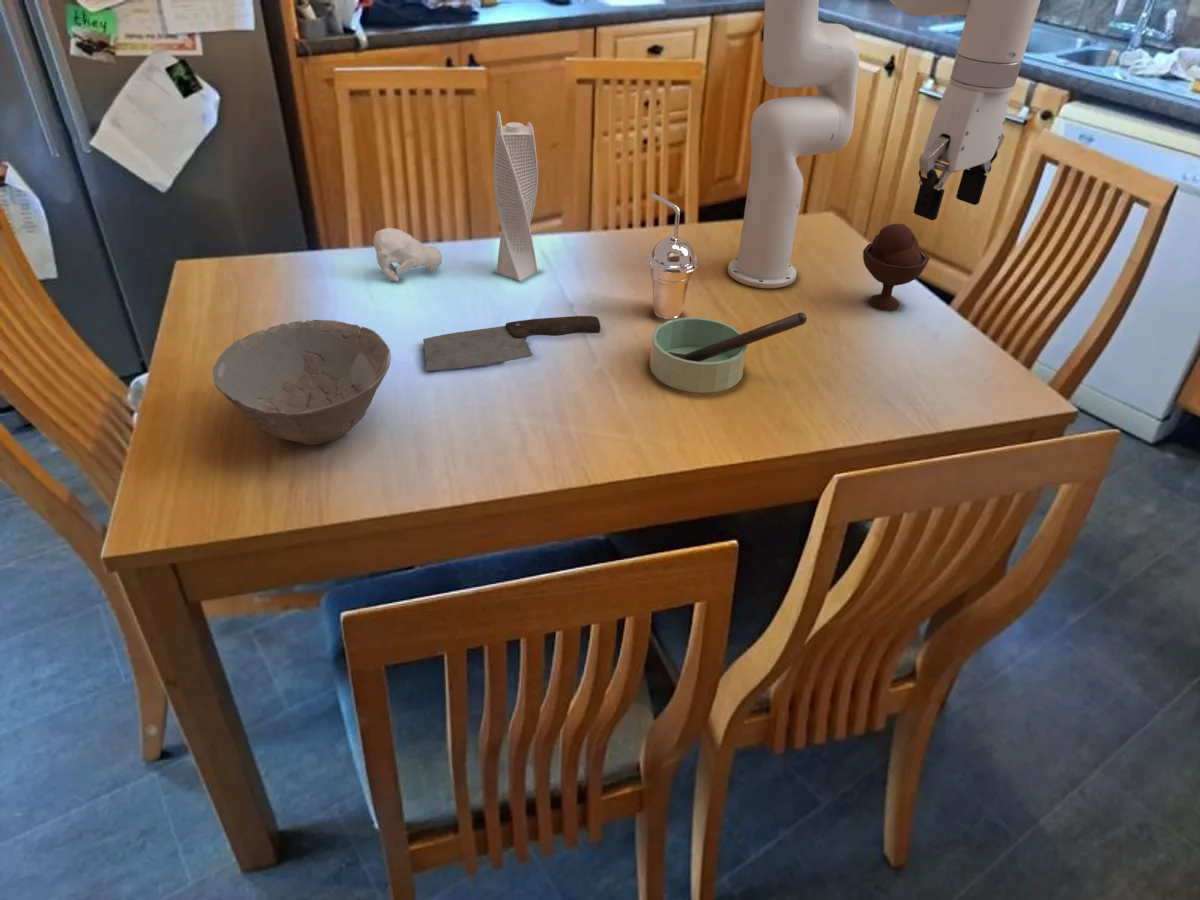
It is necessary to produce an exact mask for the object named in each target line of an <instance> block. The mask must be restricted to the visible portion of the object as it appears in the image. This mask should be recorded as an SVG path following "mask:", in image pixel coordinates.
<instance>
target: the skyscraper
mask: <svg viewBox="0 0 1200 900" xmlns="http://www.w3.org/2000/svg"><path fill="white" fill-rule="evenodd" d="M535 139H536V138H535V131H534V127H533V124H532V123H531V121H528V122H527V125H524V124H523V123H522V122H517V121H516V122H515V121H512V122H507V123H506V124H505V125H503V123H502V116H501V112H500V111H499V110H497V111H496V131H495V141H494V152H493V153H494V155H493V190H494V199H495V206H496V211H497V217H498V220H499V225H500V230H501V231H500V236H499V245H498V254H497V264H496V271H495V272H496V274H500V275H502V276H505V277H508V278H511V279H514V280H516V281H518V282H521V281H522V280H525V279H526V278H528V277H530V276H532V275H533V274H535V273H538V272H539V271H538V263H537V258H536V252H535V247H534V242H533V241H534V240H533V235H532V231H531V223H532V219H533V216H534V212H535V207H536V201H537V196H538V190H539V189H538V187H539V164H538V154H537V146H536V140H535Z"/></svg>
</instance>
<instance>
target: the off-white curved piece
mask: <svg viewBox="0 0 1200 900" xmlns="http://www.w3.org/2000/svg"><path fill="white" fill-rule="evenodd" d="M372 245H373V247H374V251H375V255H376V257H375V258H376V260H377V265H378V266H379V268H380V269H381V271H382V272H383V273H384V274H385V276H386V277H387V278H388V279H389V280H392V282H395V283H396V282H398V281H399V276H398V275H401V274H404V273H406V272H408V271H410V270H411V269H416V268H419V267H425V268H426V270H427V272H429V274H430V275H431V274H432V273H433V272H436V270H437V269H438V267H439V266H440V265H441V264H442V263H443V262H442V261H443V254H442V252H441V250H440V249H439V248H437V247H435V246H431V245H425V243H421V242H420V241H419V240H418V239H417V238H414V237H413V236H412V235H411V234H409V233H406V232H405V231H404V230H401V229H400V228H393V227H390V228H389V227H385V228H382V229H380V230H377V231H376V232H375V234H374V236H373V242H372ZM396 263H397V265H399V266H397V267H395V266H394V264H396Z"/></svg>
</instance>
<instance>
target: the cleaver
mask: <svg viewBox="0 0 1200 900" xmlns="http://www.w3.org/2000/svg"><path fill="white" fill-rule="evenodd" d="M600 332H601V322H600V319H599V318H598V317H597V316H594V315H574V316H573V315H572V316H571V315H570V316H555V317H543V318H542V317H541V318H532V319H523V320H516V321H509V322H506V323H505V325H502V326H495V327H494V326H493V327H485V328H479V329H471V330H465V331H458V332H452V333H446V334H445V333H444V334H440V335H434V336H430V337H426V338H423V339H422V341H423V350H424V357H425V367H426V371H427V372H428V371H430V372H432V371H444V370H454V369H455V370H457V369H463V368H472V367H480V366H485V365H492V364H498V363H504V362H508V361H513V360H517V359H523V358H526V357H531V356H533V353H532V351H531V348H530V346H529V344H528V342H527V338H528V337H530V336H565V335H569V334H570V335H571V334H575V333H590V334H591V333H596V334H597V333H598V334H599V333H600Z"/></svg>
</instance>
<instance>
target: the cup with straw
mask: <svg viewBox="0 0 1200 900" xmlns="http://www.w3.org/2000/svg"><path fill="white" fill-rule="evenodd" d="M650 198H652V199H654V200H655V201H657V202H660V203H662V204H663V205H665V206H667V207H669V208H670V209H673V210H674V212H675V216H674V226H673V235H672V236H669V237H668V236H667V237H665V238H662V239H660V240H659V241H658V242H657V243H656V244H655V245H654V247H653V249H652V250H651V251H650V252H649V253H648V254H647V257H646V260H645V261H646V264H647V266H648V267H650V273H651V278H652V305H653V307H652V308H653V312H654V314H655V315H656V316H657V317H658V318H661V319H665V320H666V319H667V320H673V319H677V318H678V317H680V315H681V313H682V312H683V307H684V302H685V299H686V296H687V295H686V294H687V290H688V286H689V281H690V280H691V277H692V275H693V271H695V270H696V269H697V268H698V266H699V262H698V261H699V259H698V257H697V255H696V254H695V253H694V251H693V248H692V246H691V245H690V244H689V242H687V240H685V239H684V238H681V237H678V236H679V228H680V217H681V210H680V207H679V206H678V205H676V204H675V203H672V202H671V201H669V200H667V199H666V198H663V197H662V196H659V195H658V194H656V193H653V192H652V193H651V195H650Z"/></svg>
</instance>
